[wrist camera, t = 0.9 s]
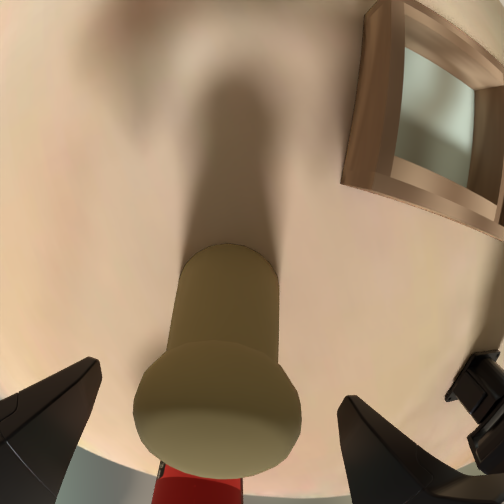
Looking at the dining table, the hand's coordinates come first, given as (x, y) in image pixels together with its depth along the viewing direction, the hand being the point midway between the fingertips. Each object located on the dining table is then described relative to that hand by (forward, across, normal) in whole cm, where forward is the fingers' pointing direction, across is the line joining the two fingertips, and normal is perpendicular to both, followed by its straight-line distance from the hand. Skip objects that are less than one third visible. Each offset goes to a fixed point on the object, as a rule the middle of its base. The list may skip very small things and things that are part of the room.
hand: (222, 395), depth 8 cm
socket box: (+8, -13, -14) cm, 20 cm away
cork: (+8, 0, 0) cm, 8 cm away
